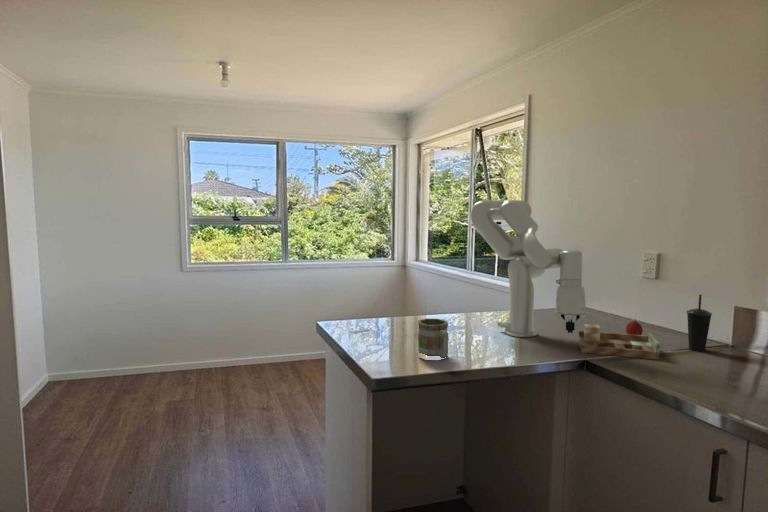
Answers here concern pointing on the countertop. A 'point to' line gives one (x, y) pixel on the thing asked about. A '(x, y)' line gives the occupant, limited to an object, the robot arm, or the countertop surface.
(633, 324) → the onion
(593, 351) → the track
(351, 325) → the countertop surface
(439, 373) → the countertop surface
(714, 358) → the countertop surface
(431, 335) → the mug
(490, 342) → the countertop surface
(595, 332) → the block
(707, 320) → the drinking cup
